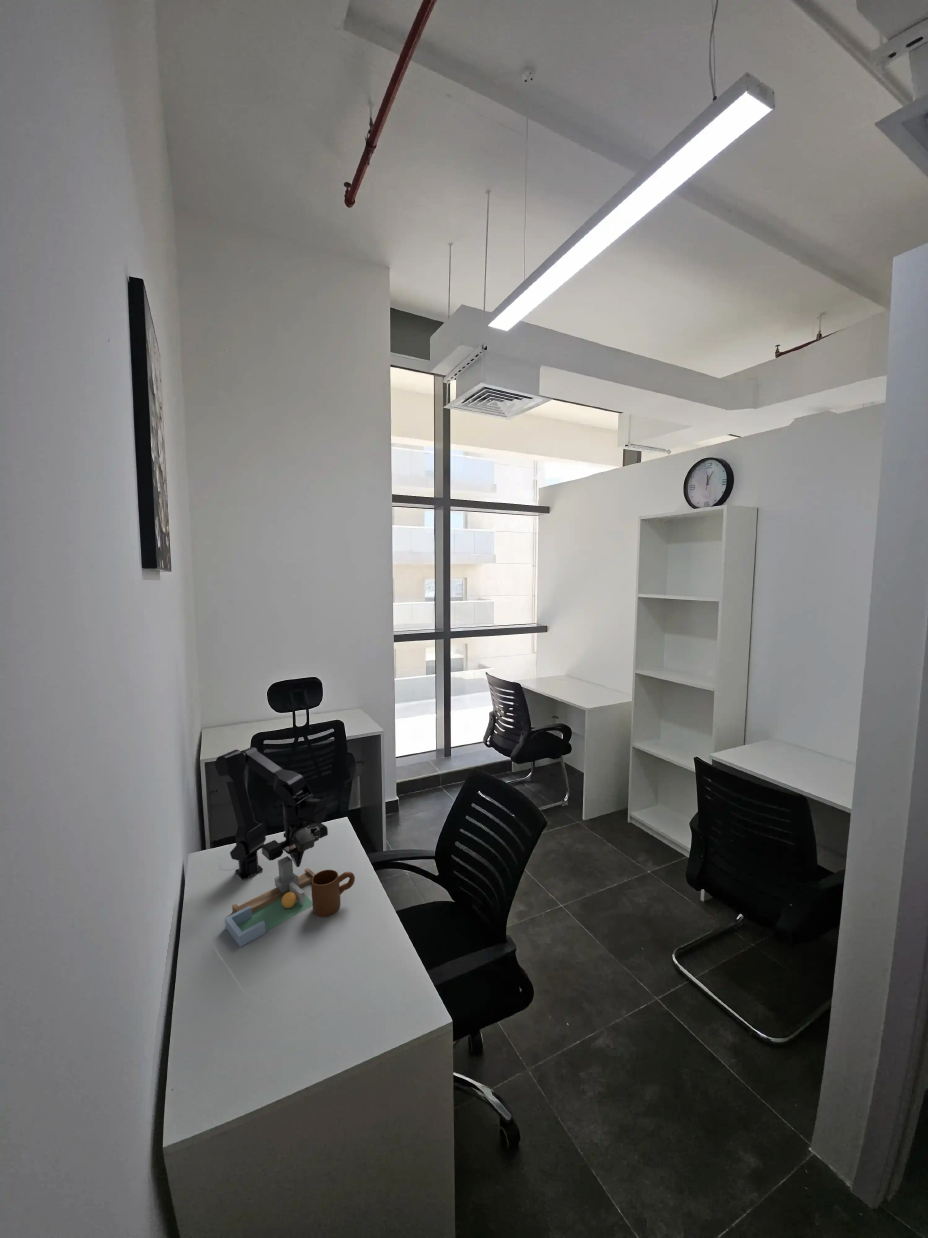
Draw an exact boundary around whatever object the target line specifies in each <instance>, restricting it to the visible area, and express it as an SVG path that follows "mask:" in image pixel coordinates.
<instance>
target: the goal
mask: <svg viewBox="0 0 928 1238" xmlns="http://www.w3.org/2000/svg"><path fill="white" fill-rule="evenodd" d="M251 917H252V908H251V906H248V907H246V908H244V909H242V910H240V911H238V912H236V913H232V914H230V915H228V916H227V917H225V918H224V923H225V924H224V925H225V929H226V930H227V932H228V933H229V935H231V937H232V939H233V940H234V941H235V942H236V944H237V945H238V946H239V948H241V947H243V946H245V945H246V944H248V943H250V942H252V941H253V940H255V939H257V938H259V937H261V936H263V935H264V934H266V932H267V931H265V922H264V921H261V922H259V923H257V924H256V925H254V926H252V927H250V928H248V929H246V930H244V931H241V930H240V928H239V927H238V926H237V925H238V924H240V923H242V922H244V921H246V920H248V919H249V918H251Z"/></svg>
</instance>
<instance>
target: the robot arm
mask: <svg viewBox="0 0 928 1238" xmlns="http://www.w3.org/2000/svg"><path fill="white" fill-rule="evenodd" d="M214 767H215V769H216V772H217V775H218V777H219V778H221V779H222V780H223V781H224V782H226V785H227V790H228V793H229V797H230V801H231V805H232V808H233V813H234V816H235V820H236V823H237V828H236V829H237V830H236V833H235V835H234V836H235V837H234V839H235V846H234V847H233V849H232V850H231V851H230V852H229V855H230V858H231V859H232V860H233V861H234V860H235V861H238V868H237V869H235V871H234V872H235V873H236V874H237V875H238V877H239V878H240V879H241V880H245V879H248V878H250V877H252V876H254V875H256V874H258V873H261V872H263V870H264V868H263V867H262V866H261V865H260V864H259V856H258V851H259V850H260V849H261V854H262V855H263V856H264V857H265V858H266V859H267V860H268V861H274V860H276V859H278V858H281V857H282V855H283V854H284V852H285V853H286V854H287V855H289V856H290V858H291V859H292V863H294V865H295V867H296V868H299V867H301V864H302V860H303V857H304V853H305V851H307V850H309V849H312V848H314V847H315V842H317V841H319V840H320V839H322V838H324V837H327V836H328V835H329V830H328V829H329V828H328V827H327V825H325V824H323V822H324V821H325V819H326V816H327V813H328V808H327V806H326V804H325V803H324V802H322V799H320V798H311V797H313V796H314V792H313V791H312V788H311V787H310V786H309V784H308V783H307V781H306V780H305V777H304V776H303V775H302V774H300V773H298V772H296V771H293V770H287V769H284V768H282V767H281V766H279V765H278V764H276V763H275V762H273V761H272V760H270V759H269V758H268V757H267V756H265V755H263V754H262V753H261V752H260V751H258V748H256V747H254V746H253V747H252V746H250V747H248V748H245V749H242V750H240V749H233V750H231V751H228V752H226V753H224V754H221V755H219V756H218V757H217V758H216V759H215V761H214ZM247 767H249V768H250V769H251V770H253V771H254V772H256V774H258V775H259V776H261V777H262V778H264V779H265V780H267V781H268V782H269V783H270V784H271V785H272V786H273V791H274V793H276V794H277V795H278V796H279V797H280V798H279V799H278V800H277V801H276V803H277V804H280V805H282V808H283V820H282V825H284V833H283V838H284V839H285V840H282V841H281V842H278V841H277V840H275V839H273V840H271V841H269V842H267V843H265V842H266V840H267V837H266V836H267V831H266V830H265V826H264V825H265V824H263V823H259V822H258V821H256V820H255V817H254V812H253V809H252V805H251V804H252V803H251V801H250V797H249V793H248V790H247V787H246V781H245V778H244V775H245V771H246V769H247ZM301 793H302V794H301ZM297 795H299V796H297ZM308 823H310V824H308Z"/></svg>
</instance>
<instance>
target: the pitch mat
mask: <svg viewBox="0 0 928 1238" xmlns="http://www.w3.org/2000/svg"><path fill="white" fill-rule="evenodd" d="M304 896H305V902H304V903H302V904H301V903H300V902H299V901H297V900H296V903H295V904H294V906H293V907H291V908H285V907H283V905H282V898H280V899H278V900H276V901H274V902H273V903H271V904H269V905H267V906H265V907H263V908H261V909H259V910H257V911H255V912H253V913H252V917H251V918H249V919H248V920H246V921H244V922H242V923H240V924H238V925H237V926H238V927H239V928H240V930H241V931H244V930H246V929H248V928H250V927H252V926H254V925H256V924H257V923H259V922H261V921H264V922H265V931H266V932H267V931H269V930H271V929H273V928H274V927H277V926H279V925H280V924H281V923H284V922H286V921H288V920H289V919H291V918H292V917H294V916H296V915H298V914H300V913H302V912H303V911H305V910H307V909H308V908H311V907H313V903H312V899H311V898H309V897H308V895H306V894H305V893H304Z"/></svg>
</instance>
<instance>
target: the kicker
mask: <svg viewBox="0 0 928 1238" xmlns="http://www.w3.org/2000/svg"><path fill="white" fill-rule="evenodd" d="M277 863H278V864H277V865H278V876H276V877H274V887H275V888H276V887H277V888H278V889H279V890H280V891H281V892H282V893H284V892H286V891H288V890H290V892H293V893H294V894H295V895H296V900H297V901H299V902H300V903H301V904H302V903H304V902H305V896H304V894H305V891H304V890H303V889H302V888H299V887H298V885H299V881H298V876H299V875H297V874H295V873H294V866H293V860H292V858H291V857H289V855H287V856H285V857H282V858H280V859H278V860H277Z"/></svg>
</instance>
